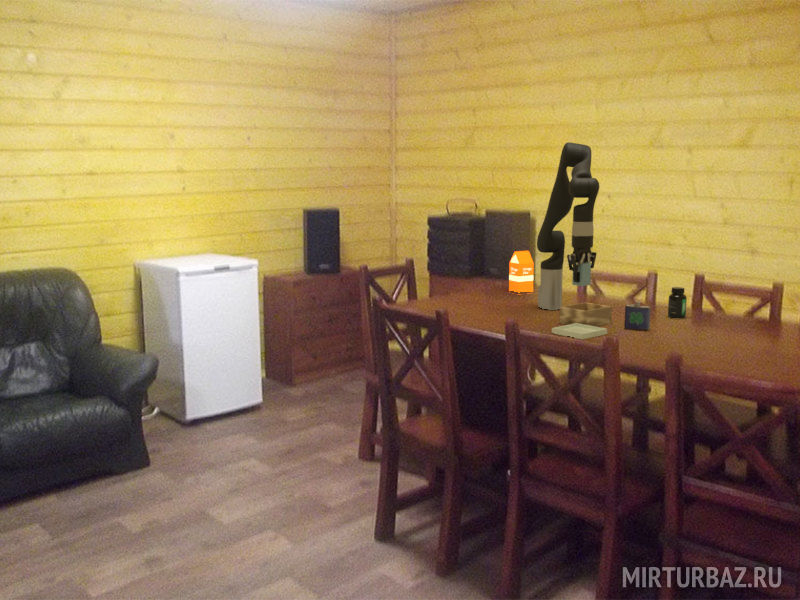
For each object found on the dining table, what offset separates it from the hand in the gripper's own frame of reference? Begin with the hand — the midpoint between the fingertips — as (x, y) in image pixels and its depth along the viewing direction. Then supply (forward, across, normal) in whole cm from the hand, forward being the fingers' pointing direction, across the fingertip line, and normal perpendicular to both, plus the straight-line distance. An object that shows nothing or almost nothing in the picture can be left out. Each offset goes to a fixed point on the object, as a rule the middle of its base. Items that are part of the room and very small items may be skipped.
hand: (581, 281), depth 295 cm
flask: (+20, -22, +9) cm, 31 cm away
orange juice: (+19, -53, -79) cm, 97 cm away
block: (+1, 0, 0) cm, 1 cm away
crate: (+19, -17, -11) cm, 28 cm away
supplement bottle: (+20, -54, +5) cm, 58 cm away
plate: (+19, 0, 0) cm, 19 cm away
